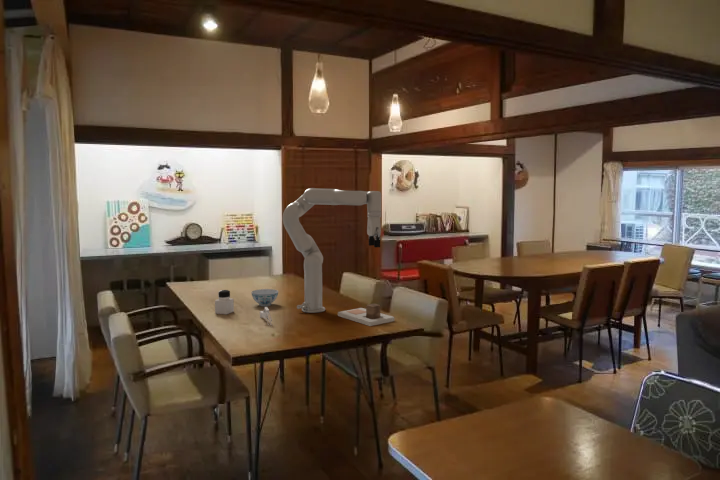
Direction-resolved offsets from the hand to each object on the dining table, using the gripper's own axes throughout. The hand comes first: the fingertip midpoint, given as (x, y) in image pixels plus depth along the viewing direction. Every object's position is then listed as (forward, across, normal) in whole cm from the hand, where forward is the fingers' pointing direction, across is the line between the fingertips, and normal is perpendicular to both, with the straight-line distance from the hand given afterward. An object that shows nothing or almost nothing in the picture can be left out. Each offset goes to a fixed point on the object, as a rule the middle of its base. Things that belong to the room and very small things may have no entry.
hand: (374, 246), depth 286 cm
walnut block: (+35, +20, -7) cm, 41 cm away
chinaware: (+35, -30, -56) cm, 72 cm away
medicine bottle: (+35, -17, -78) cm, 87 cm away
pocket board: (+35, +15, -10) cm, 39 cm away
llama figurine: (+35, +7, -59) cm, 69 cm away
